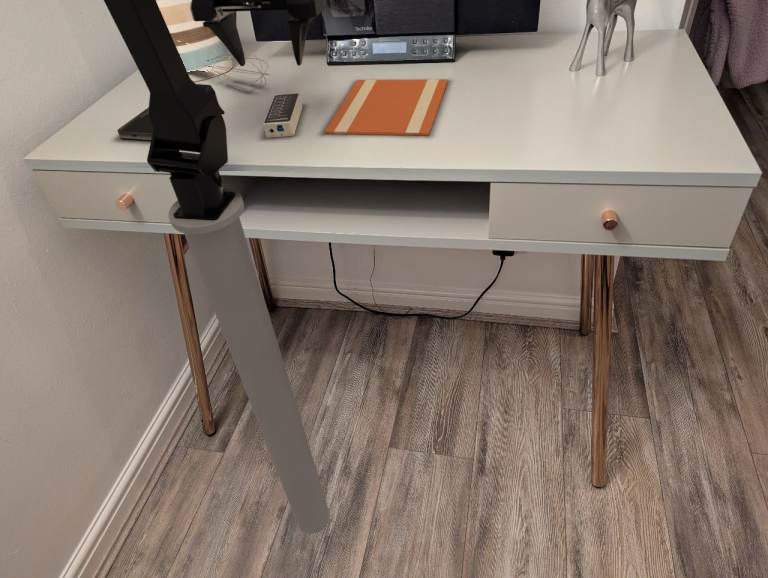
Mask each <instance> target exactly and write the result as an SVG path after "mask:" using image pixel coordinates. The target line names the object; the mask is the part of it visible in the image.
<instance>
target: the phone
mask: <svg viewBox="0 0 768 578" xmlns="http://www.w3.org/2000/svg"><path fill="white" fill-rule="evenodd" d="M148 108H149V106H148V107H147V108H145V109H144V110H142V111H141V112H140V113H139V114H137V115H136V116H135V117H133V118H131V119H130V120H129V121H127V122H126V123H125V124H124V125H122V126H120V127H119V128H118V129H117V133H118V134H117V135H118V136H119V139H122V140H137V141H150V142H151V139H152V134H153V130H154V129H153V126H152V124H151V121H150V118H149V115H148Z"/></svg>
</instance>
